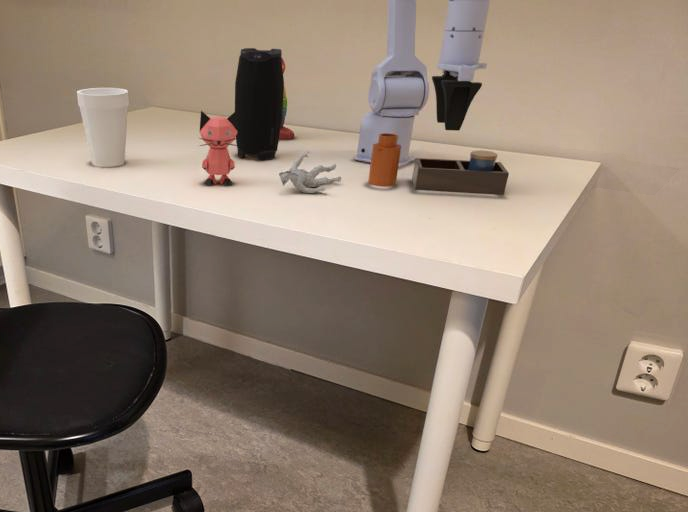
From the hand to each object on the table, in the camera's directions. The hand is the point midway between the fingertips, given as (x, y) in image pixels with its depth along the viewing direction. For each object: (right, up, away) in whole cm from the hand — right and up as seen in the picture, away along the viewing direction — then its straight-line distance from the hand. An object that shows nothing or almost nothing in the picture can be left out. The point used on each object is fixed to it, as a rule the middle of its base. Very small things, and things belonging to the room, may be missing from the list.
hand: (447, 126), depth 102 cm
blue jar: (+7, -8, +6) cm, 12 cm away
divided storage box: (+4, -8, +7) cm, 11 cm away
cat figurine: (-37, -6, +10) cm, 39 cm away
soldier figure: (-21, -8, +8) cm, 24 cm away
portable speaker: (-29, +4, +27) cm, 40 cm away
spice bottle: (-8, -7, +9) cm, 14 cm away
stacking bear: (-25, +13, +43) cm, 52 cm away
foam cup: (-58, +1, +22) cm, 62 cm away
